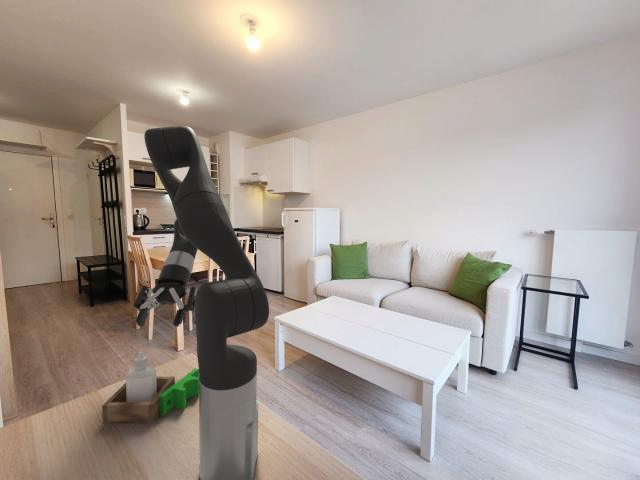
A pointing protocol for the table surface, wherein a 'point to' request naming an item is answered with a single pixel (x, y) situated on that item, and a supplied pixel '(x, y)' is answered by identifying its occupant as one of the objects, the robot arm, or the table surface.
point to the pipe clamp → (179, 392)
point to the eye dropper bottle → (141, 381)
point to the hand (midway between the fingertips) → (157, 325)
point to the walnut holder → (134, 405)
